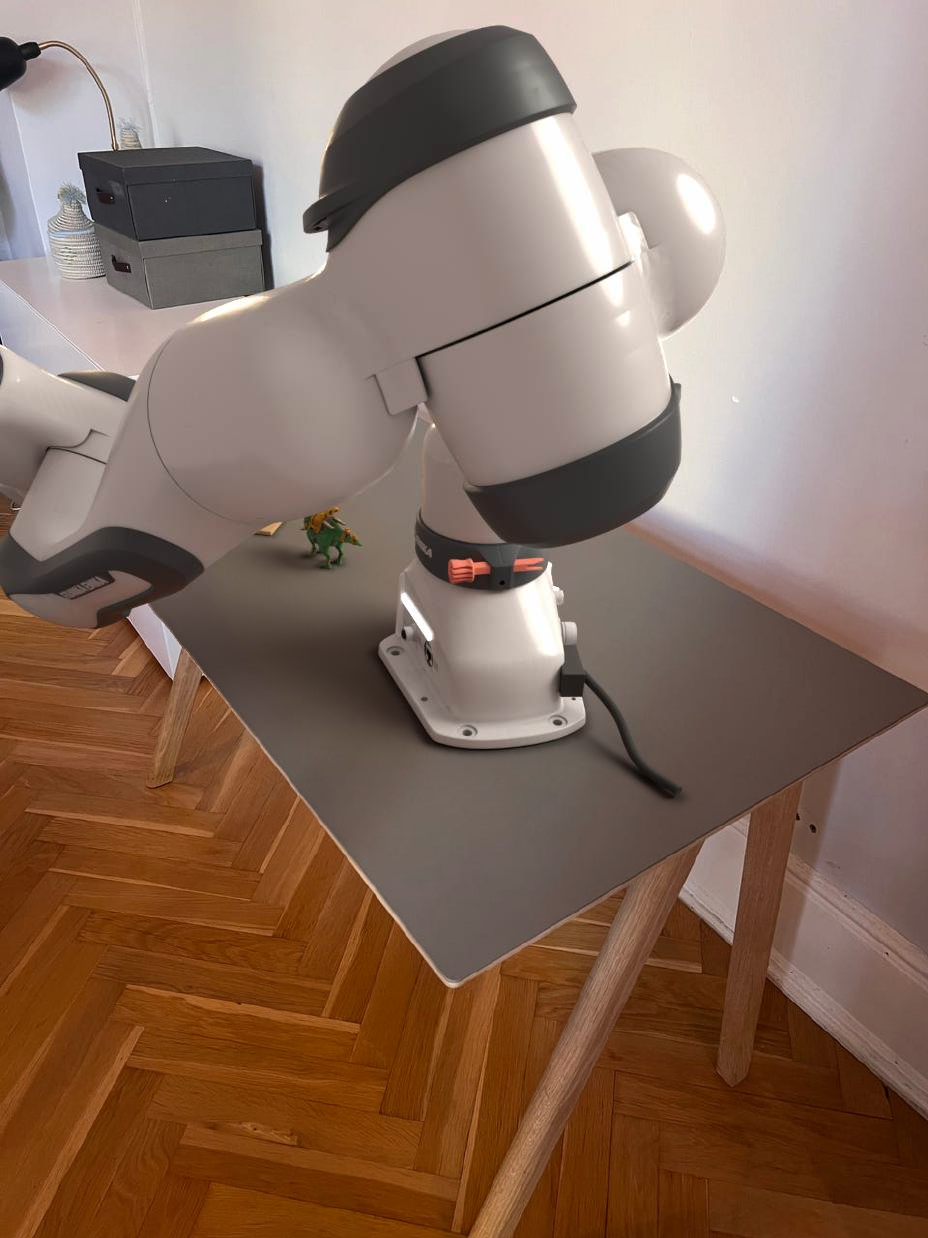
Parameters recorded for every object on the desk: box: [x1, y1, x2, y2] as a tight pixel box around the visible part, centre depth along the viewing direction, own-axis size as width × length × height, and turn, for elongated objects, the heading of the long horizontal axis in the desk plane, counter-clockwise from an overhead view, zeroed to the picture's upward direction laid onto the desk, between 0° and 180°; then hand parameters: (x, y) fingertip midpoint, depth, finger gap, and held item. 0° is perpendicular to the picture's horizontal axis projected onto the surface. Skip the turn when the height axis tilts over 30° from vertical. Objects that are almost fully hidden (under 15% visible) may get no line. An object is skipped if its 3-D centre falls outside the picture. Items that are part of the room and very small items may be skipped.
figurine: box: [298, 506, 363, 569], centre depth 100 cm, size 3×12×8 cm, turn 42°
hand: (150, 524), depth 91 cm, fingers closed
